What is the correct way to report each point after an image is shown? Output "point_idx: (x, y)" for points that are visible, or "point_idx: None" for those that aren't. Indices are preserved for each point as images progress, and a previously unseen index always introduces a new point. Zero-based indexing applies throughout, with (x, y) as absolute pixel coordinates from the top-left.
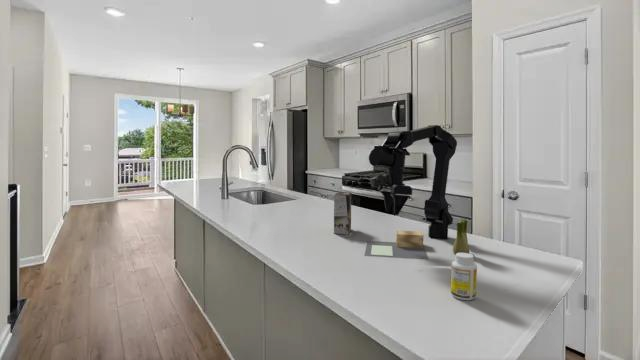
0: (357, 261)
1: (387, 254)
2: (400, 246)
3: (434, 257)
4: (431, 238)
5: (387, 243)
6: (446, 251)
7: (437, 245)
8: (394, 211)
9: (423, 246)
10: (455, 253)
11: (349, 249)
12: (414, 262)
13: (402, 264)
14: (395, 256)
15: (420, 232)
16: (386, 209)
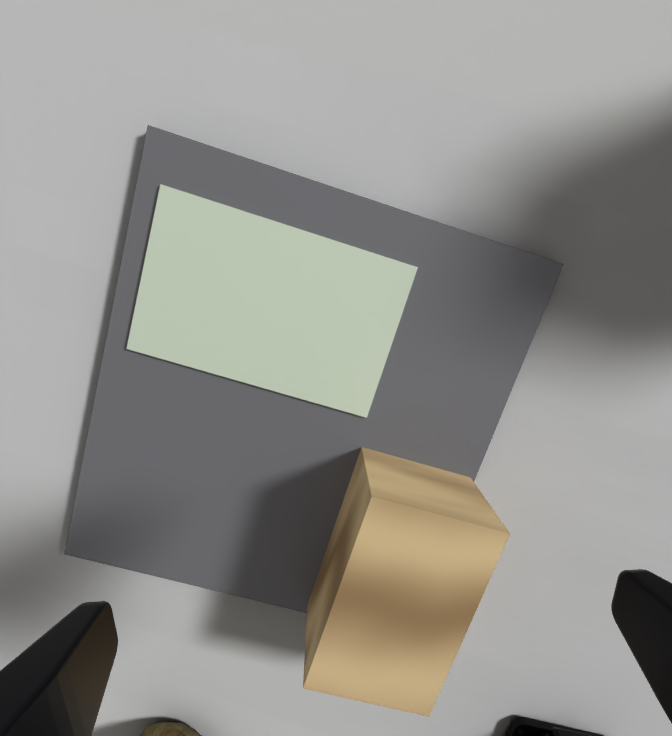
0: (57, 44)
1: (156, 318)
2: (352, 473)
3: (149, 603)
4: (520, 726)
5: (454, 407)
6: (264, 706)
7: None
8: (48, 652)
9: None
10: (150, 731)
11: (382, 49)
12: (49, 457)
13: (4, 369)
14: (124, 365)
15: (401, 697)
16: (644, 594)
